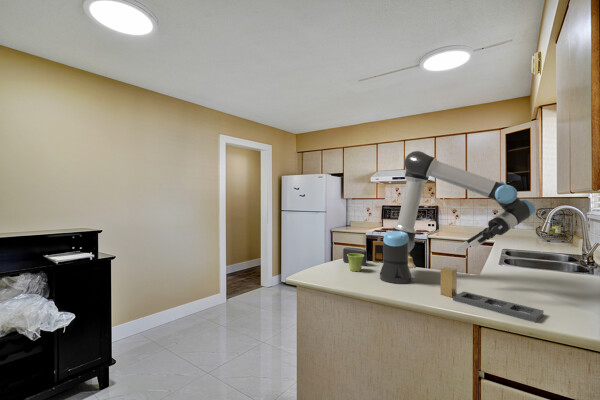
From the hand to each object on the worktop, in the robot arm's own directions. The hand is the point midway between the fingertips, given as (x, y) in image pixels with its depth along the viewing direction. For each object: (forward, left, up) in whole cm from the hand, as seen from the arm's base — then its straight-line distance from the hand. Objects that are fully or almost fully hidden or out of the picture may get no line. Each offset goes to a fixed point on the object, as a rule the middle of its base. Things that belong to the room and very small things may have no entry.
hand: (463, 248), depth 126 cm
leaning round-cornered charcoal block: (-64, +3, -19) cm, 66 cm away
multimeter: (-61, +23, -19) cm, 67 cm away
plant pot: (-53, -9, -19) cm, 57 cm away
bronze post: (-2, -10, -19) cm, 21 cm away
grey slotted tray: (+15, -10, -19) cm, 26 cm away
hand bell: (-41, +25, -19) cm, 51 cm away
